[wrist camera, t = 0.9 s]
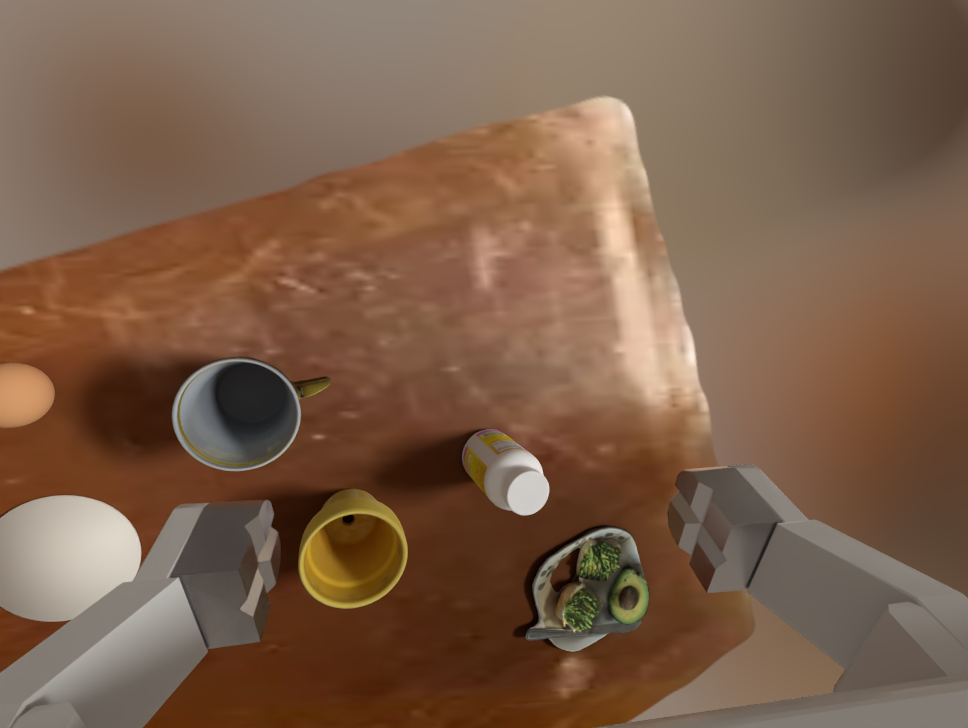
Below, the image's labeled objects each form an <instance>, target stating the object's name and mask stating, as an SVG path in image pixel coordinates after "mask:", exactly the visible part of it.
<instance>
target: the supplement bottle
mask: <svg viewBox="0 0 968 728" xmlns="http://www.w3.org/2000/svg"><path fill="white" fill-rule="evenodd" d="M462 462H463V466H464V468H465V470H466V472H467V473H468V474H469V476H470V477H471V478H472V479H473V480H474V482H475V483H476V484H477V485H478V486H479V488H480V489H481V490H482V491H483V492H484V493H485V495H486V496H487V497H488V498H489V499H490V500H491V501H492V503H494V504H495V505H496V506H498V507H499V508H501V509H505V510H512V511H513V512H515V513H517V514H519V515H530V514H533V513H535V512H537V511H538V510H540V509H541V508H542V507H543V506H544V504H545V503H546V501H547V498H548V495H549V485H548V482H547V480H546V478H545V477H544V476H543V470H542V467H541V465H540V463H539V461H538V460H537V459H536V458H535V457H534V456H533V455H532V454H531V453H529V452H528V451H527V450H525V449H524V448H523V447H521V446H520V445H519V444H517V443H516V442H515V441H513V440H512V439H511V438H509V437H508V436H507V435H505V434H504V433H502V432H500V431H498V430H494V429H486V430H482V431H479V432H477V433H475V434H474V435H473V436H472V437H470V439H469V440H468V441H467V443H466V444H465V446H464V449H463V453H462Z"/></svg>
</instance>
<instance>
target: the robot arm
mask: <svg viewBox="0 0 968 728" xmlns="http://www.w3.org/2000/svg"><path fill="white" fill-rule="evenodd" d="M675 485H676V487H677V488H678V490H679V493H678V494H677V495H676V496H675V497H674V498H673V499H671V500H670V504H669V508H668V523H669V528H670V531H671V534H672V536H673V538H674V540H675V541H676V543H677V545H678V546H679V547H680V548H682V549H683V550H685V551H686V552H688V553H689V554H691V557H690V563H689V565H690V566H691V568H692V570H693V571H694V573H695V574H696V576H697V578H698V579H699V581H700V583H701V584H702V586H703V587H704V589H705V591H706V592H707V593H711V592H724V591H737V590H748V591H747V592H748V593H749V594H750V595H752V596H753V597H754V598H755V599H757V600H758V601H759V602H761V603H762V604H763V605H764V606H766V607H767V608H768V609H769V610H771V611H772V612H773V613H774V614H776V615H777V616H778V617H780V618H781V619H782V620H783V621H785V622H786V623H787V624H788V625H790V626H791V627H792V628H794V629H795V630H796V631H797V632H799V633H800V634H801V635H803V636H804V637H805V638H806V639H807V640H809V641H810V642H811V643H813V644H814V645H815V646H816V647H818V648H819V649H820V650H821V651H823V652H824V653H825V654H827V655H828V656H829V657H830V658H832V659H833V660H834V661H835V662H837V663H838V664H839V665H841V666H842V667H843V668H844V669H845V671H844V672H843V674H842V675H841V677H840V678H839V680H838V681H837V683H836V684H835V686H834V690H833V693H829V694H822V695H816V696H809V697H802V698H795V699H788V700H781V701H774V702H768V703H761V704H754V705H747V706H740V707H733V708H726V709H719V710H712V711H705V712H699V713H692V714H685V715H678V716H671V717H664V718H657V719H650V720H644V721H637V722H630V723H623V724H616V725H609V726H602V727H595V728H968V598H967V597H966V596H965V595H963V594H962V593H960V592H958V591H956V590H954V589H952V588H950V587H948V586H946V585H944V584H942V583H940V582H938V581H936V580H934V579H932V578H930V577H928V576H926V575H924V574H922V573H920V572H918V571H917V570H915V569H913V568H910V567H909V566H907V565H905V564H903V563H901V562H899V561H897V560H895V559H893V558H891V557H889V556H887V555H885V554H883V553H881V552H879V551H877V550H875V549H873V548H871V547H869V546H867V545H865V544H863V543H861V542H859V541H857V540H855V539H853V538H851V537H849V536H847V535H845V534H843V533H841V532H839V531H837V530H835V529H833V528H831V527H829V526H827V525H825V524H823V523H821V522H819V521H817V520H808V519H807V518H806V517H805V516H804V515H803V514H802V513H801V511H799V509H798V508H797V507H796V506H795V505H794V504H793V503H792V502H791V501H790V500H789V499H788V498H787V497H786V496H785V495H784V494H783V493H782V492H781V491H780V490H779V489H778V488H777V487H776V485H775V484H774V483H773V482H771V480H770V479H769V478H768V477H767V476H766V475H765V474H764V473H763V472H762V471H761V470H760V469H759V468H758V467H756V466H754V465H752V464H744V465H732V466H727V467H725V466H723V467H710V468H698V469H685V470H682V471H681V472H680V473H679V474H678V477H677V480H676V483H675ZM273 517H274V512H273V509H272V505H271V502H270V501H268V500H246V501H226V502H210V503H197V504H180V505H179V506H178V507H176V508H175V509H174V510H173V511H172V513H171V515H170V516H169V518H168V520H167V522H166V523H165V525H164V527H163V529H162V530H161V532H160V534H159V536H158V537H157V539H156V541H155V543H154V544H153V546H152V548H151V550H150V551H149V553H148V555H147V557H146V558H145V560H144V562H143V564H142V565H141V567H140V569H139V571H138V572H137V574H136V576H135V578H134V579H133V581H131V582H123V583H121V584H120V585H118V586H117V587H116V588H114V589H113V590H112V591H110V592H109V593H108V594H106V595H105V596H104V597H102V598H101V599H100V600H98V601H97V602H95V603H94V604H93V605H91V606H90V607H89V608H87V609H86V610H85V611H83V612H82V613H81V614H79V615H78V616H77V617H75V618H74V619H73V620H71V621H70V622H68V623H67V624H66V625H64V626H63V627H62V628H60V629H59V630H58V631H56V632H55V633H54V634H52V635H51V636H50V637H48V638H47V639H45V640H44V641H43V642H41V643H40V644H39V645H37V646H36V647H35V648H33V649H32V650H31V651H29V652H28V653H27V654H25V655H24V656H22V657H21V658H20V659H18V660H17V661H16V662H14V663H13V664H12V665H10V666H9V667H8V668H6V669H5V670H4V671H2V672H1V673H0V728H143V727H144V726H145V724H146V723H147V722H148V721H149V720H150V719H151V717H152V716H153V715H154V714H155V713H156V712H157V710H158V709H159V708H160V707H161V706H162V705H163V703H164V702H165V701H166V700H167V699H168V698H169V696H170V695H171V694H172V693H173V692H174V691H175V690H176V688H177V687H178V686H179V685H180V684H181V683H182V681H183V680H184V679H185V678H186V677H187V676H188V674H189V673H190V672H191V671H192V670H193V669H194V667H195V666H196V665H197V664H198V663H199V662H200V661H201V659H202V658H203V657H204V656H205V655H206V654H207V652H208V650H207V649H210V648H218V647H225V646H232V645H240V644H247V643H254V642H260V641H261V638H262V634H263V630H264V627H265V623H266V619H267V616H268V612H269V608H270V604H269V600H268V596H267V592H268V591H270V590H271V589H272V588H273V587H274V586H275V585H276V582H277V578H278V574H279V570H280V560H281V545H280V538H279V533H278V532H277V531H276V530H275V529H273V528H272V527H271V523H272V520H273Z"/></svg>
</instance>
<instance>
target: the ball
mask: <svg viewBox="0 0 968 728" xmlns="http://www.w3.org/2000/svg"><path fill="white" fill-rule="evenodd" d="M54 397H55V391H54V386H53V384H52V382H51V380H50V379H49V378H48V376H47V375H46V374H44V373H43V372H42V371H40V370H39V369H37V368H35V367H32V366H29V365H26V364H21V363H3V364H0V427H5V428H10V427H19V426H23V425H27V424H30V423H32V422H34V421H36V420H38V419H39V418H41V417H42V416H43V415H45V414H46V413H47V411H48V410H49V409H50V407H51V406H52V404H53V401H54Z"/></svg>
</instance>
